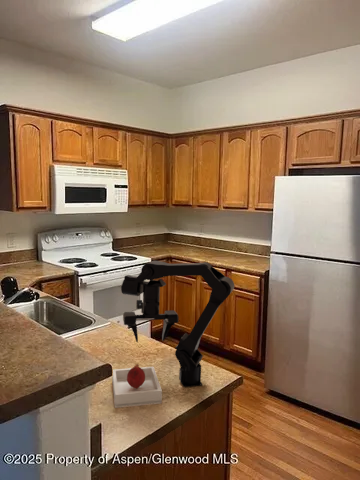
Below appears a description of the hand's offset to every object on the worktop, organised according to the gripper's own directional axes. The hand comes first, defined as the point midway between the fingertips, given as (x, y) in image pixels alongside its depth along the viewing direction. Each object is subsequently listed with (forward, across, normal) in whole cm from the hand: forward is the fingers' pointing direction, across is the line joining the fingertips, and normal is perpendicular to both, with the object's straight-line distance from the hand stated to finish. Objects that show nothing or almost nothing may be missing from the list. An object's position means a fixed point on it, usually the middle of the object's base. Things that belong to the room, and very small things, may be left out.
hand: (150, 341), depth 127 cm
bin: (+12, +6, +11) cm, 17 cm away
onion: (+11, +6, +11) cm, 17 cm away
